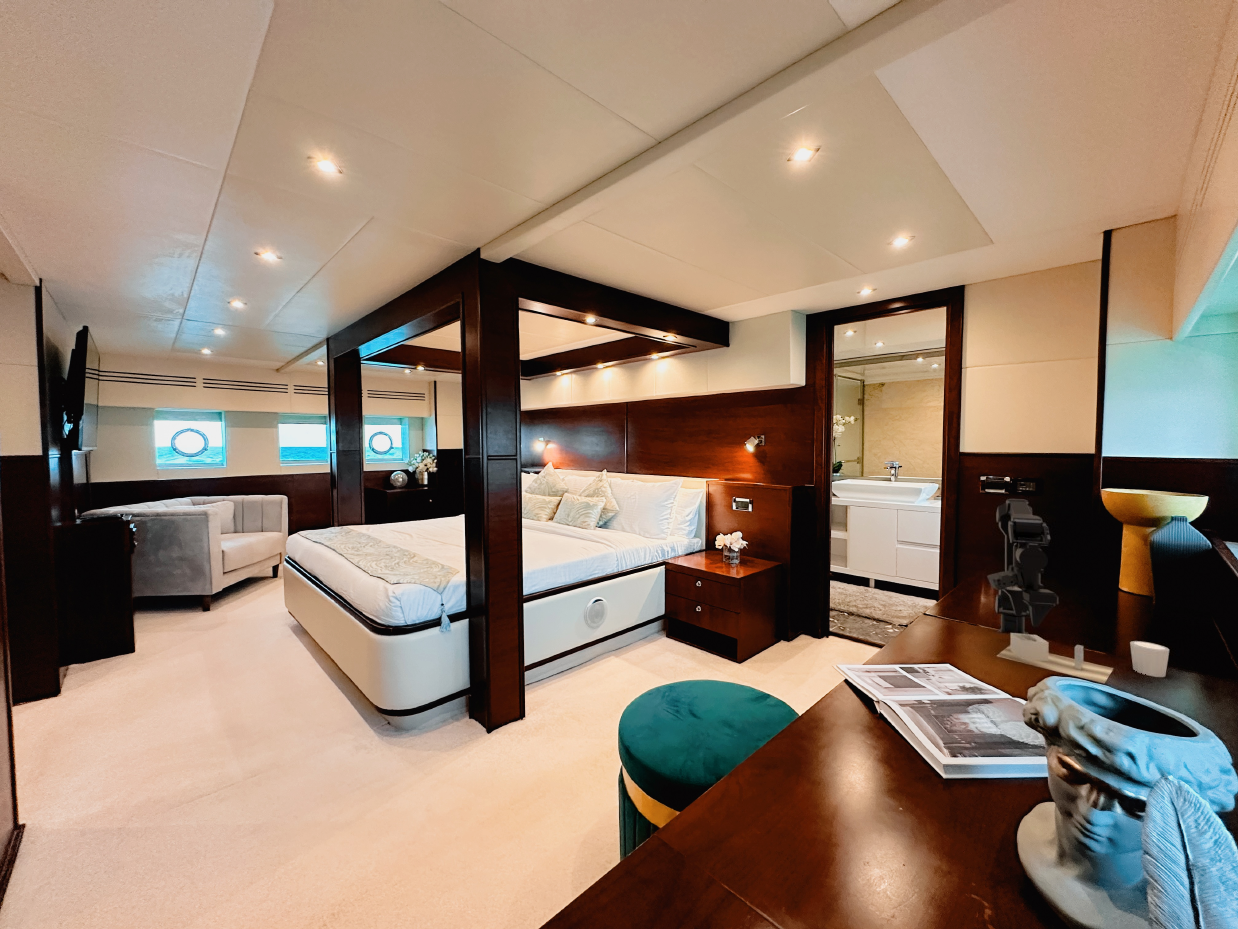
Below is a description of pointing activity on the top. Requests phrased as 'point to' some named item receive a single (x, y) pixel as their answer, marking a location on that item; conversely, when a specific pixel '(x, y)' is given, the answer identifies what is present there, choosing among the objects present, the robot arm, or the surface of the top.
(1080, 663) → the post
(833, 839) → the top surface
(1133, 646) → the shot glass
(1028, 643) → the box
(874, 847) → the top surface
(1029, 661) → the maple board
